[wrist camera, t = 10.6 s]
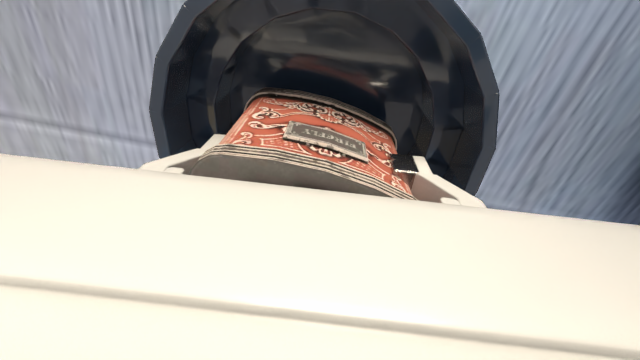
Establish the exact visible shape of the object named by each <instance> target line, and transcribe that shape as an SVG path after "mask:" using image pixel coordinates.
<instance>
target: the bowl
mask: <svg viewBox="0 0 640 360" xmlns="http://www.w3.org/2000/svg"><path fill="white" fill-rule="evenodd" d="M269 87H272V88H281V89H290V90H299V91H304V92H308V93H312V94H317V95H321V96H325V97H330V98H333V99H336V100H338V101H341V102H343V103H346V104H348V105H351V106H354V107H356V108H359V109H361V110H363V111H365V112H367V113H369V114H370V115H372V116H374V117H376V118H378V119H380V120H382V121H383V122H385V123H387V124H388V125H389V126H390V127H391V128H392V130H393V133H394V135H395V137H396V140H397V150H396V151H397V154H402V155H412V156H422V157H424V158H425V160H426V162H427V164H428V166H429V168H430V169H431V171H432V173H433V174H434V175H438V176H439V177H441V178H443V179H445V180H446V181H448V182H450V183H452V184H453V185H455V186H457V187H459V188H460V189H462V190H464V191H465V192H467V193H469V194H471V195H472V196H475V193H477V191H478V189H479V186H480V184H481V182H482V179H483V177H484V175H485V172H486V170H487V168H488V165H489V163H490V161H491V158H492V156H493V154H494V151H495V149H496V148H495V147H496V138H497V123H498V108H499V89H498V86H497V83H496V80H495V76H494V73H493V70H492V67H491V63H490V60H489V57H488V54H487V51H486V47H485V44H484V41H483V38H482V36H481V33H480V32H479V30H478V29H477V28H476V27H475V26H474V24H473V23H472V22H471V21H470V19H469V18H468V17H467V16H466V15H465V13H464V12H463V11H462V10H461V8H460V7H459V6H458V5H457V4H456V2H455V1H454V0H187V1H186V2H185V3H184V5H182V7H181V9H180V11H179V13H178V15H177V16H176V18H175V20H174V22H173V24H172V26H171V28H170V30H169V32H168V34H167V35H166V37H165V39H164V41H163V43H162V45H161V47H160V49H159V51H158V52H157V54H156V58H155V64H154V73H153V81H152V89H151V97H150V106H149V110H150V111H149V113H150V117H151V122H152V127H153V131H154V136H155V141H156V145H157V150H158V155H159V158H160V159H161V158H165V157H168V156H172V155H175V154H179V153H182V152H186V151H189V150H193V149H196V148H199V149H200V148H201V147H202V146H203V145H204V144H205V143H206V142H207V141H208V140H209V139H210V138H211V137H212V136H213V135H214V134H221V135H226V134H227V133H228V132H229V130H230V129H231V128H232V127H233V125H234V124H235V123H236V122H237V120H238V119H239V118H240V117H241V115H242V114H243V111H244V109H245V106H246V103H247V102H248V101H249V99H250V98H251V97H252V96H253V95H254V93H255V92H257V91H258V90H260V89H262V88H269Z"/></svg>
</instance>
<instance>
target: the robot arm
mask: <svg viewBox="0 0 640 360" xmlns="http://www.w3.org/2000/svg"><path fill="white" fill-rule="evenodd" d="M224 137H225V135H221V134H214V135H213V136H212V137H211V138H210V139H209V140H208V141H207V142H206V143H205V144H204V145H203V146H202V147H201V148H200V149H199V148H196V149H193V150H189V151H186V152H182V153H179V154H175V155H172V156H168V157H165V158H161V159H158V160H154V161H151V162H148V163H144V164H143V165H142V166H141V167H140V168H138V169H132V168H123V167H114V166H105V165H96V164H88V163H79V162H70V161H61V160H52V159H43V158H34V157H25V156H16V155H8V154H1V153H0V360H640V225H634V224H625V223H615V222H605V221H596V220H587V219H578V218H570V217H561V216H552V215H543V214H534V213H525V212H516V211H507V210H498V209H489V208H487V207H486V206H485V204H484V203H483V201H481V200H479V199H478V198H476V197H474V196H472V195H471V194H469V193H467V192H465V191H464V190H462V189H460V188H459V187H457V186H455V185H453V184H452V183H450V182H448V181H446V180H445V179H443V178H441V177H439V176H438V175H434V174H433V173H432V171H431V169H430V168H429V166H428V164H427V162H426V160H425V158H424V157H422V156H412V155H402V154H391V153H389V154H387V156H388V160H389V162H390V163H391V166H390V168H391V171H392V175H393V176H395V177H397V178H399V179H401V180H402V181H404V182H405V183H406V184H407V185H408V186H409V188H410V190H411V193H412V195H413V196H414V197H415V198H416V199H417V200H409V199H400V198H391V197H382V196H373V195H364V194H355V193H346V192H337V191H329V190H320V189H311V188H302V187H293V186H284V185H275V184H266V183H257V182H248V181H239V180H230V179H221V178H212V177H203V176H194V175H189V172H190V169H191V168H192V167H193V166H194V164H195V163H196V162H197V161H198V159H199V158H200V157H201V156H202V155H203V154H204V152H205V151H206V150H207V149H209V148H211V147H213V146H215V145H217V144H219V143H220V142H221V140H222V139H223V138H224ZM418 200H419V201H418Z"/></svg>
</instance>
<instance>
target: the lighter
mask: <svg viewBox="0 0 640 360" xmlns="http://www.w3.org/2000/svg"><path fill="white" fill-rule="evenodd" d="M396 150H397V140H396V137H395V135H394V133H393V130H392V128H391V127H390V126H389V125H388V124H387V123H385V122H383V121H382V120H380V119H378V118H376V117H374V116H372V115H370V114H369V113H367V112H365V111H363V110H361V109H359V108H356V107H354V106H351V105H348V104H346V103H343V102H341V101H338V100H336V99H333V98H330V97H325V96H321V95H317V94H312V93H308V92H304V91H299V90H290V89H281V88H272V87H269V88H262V89H260V90H258V91H257V92H255V93H254V95H253V96H252V97H251V98H250V99H249V101H248V102H247V103H246V106H245V109H244V111H243V114H242V115H241V117H240V118H239V119H238V120H237V122H236V123H235V124H234V125H233V127H232V128H231V129H230V130H229V132H228V133H227V134H226V135H225V137H224V138H223V139H222V140H221V142H220V143H219V144H217V145H215V146H213V147H211V148H209V149H207V150H206V151H205V152H204V154H203V155H202V156H201V157H200V158H199V159H198V161H197V162H196V163H195V164H194V166H193V167H192V168H191V169H190V172H189V175H194V176H203V177H212V178H221V179H230V180H239V181H248V182H257V183H266V184H275V185H284V186H293V187H302V188H311V189H320V190H329V191H337V192H346V193H355V194H364V195H373V196H382V197H391V198H400V199H409V200H417V199H416V198H415V197H414V196H413V195H412V193H411V190H410V188H409V186H408V185H407V184H406V183H405V182H404V181H402V180H401V179H399V178H397V177H395V176H393V175H392V171H391V168H390V166H391V163H390V162H389V160H388V156H387V154H389V153H391V154H397V151H396ZM418 201H419V200H418Z"/></svg>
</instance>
